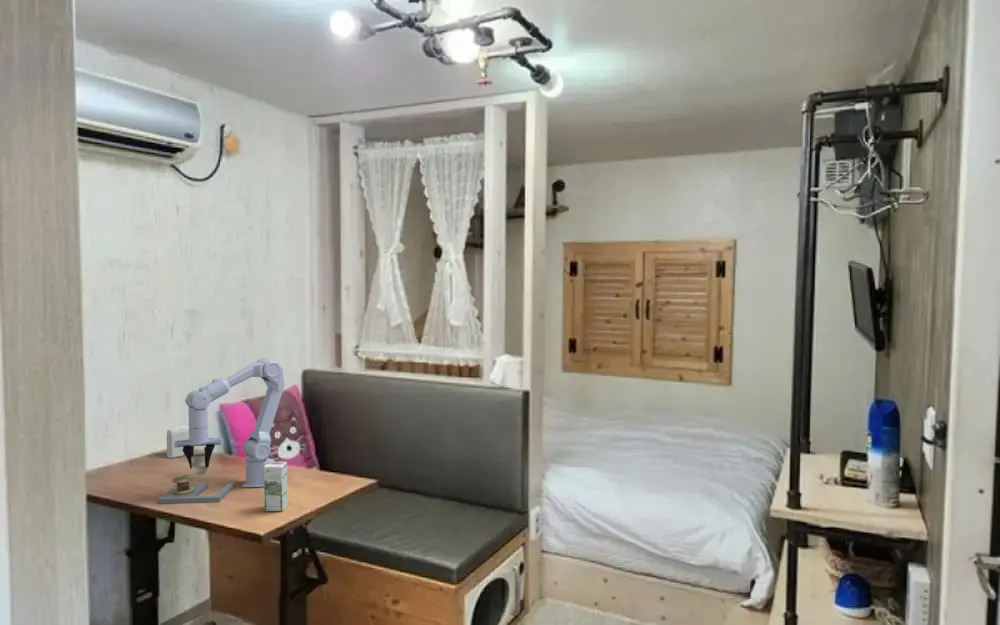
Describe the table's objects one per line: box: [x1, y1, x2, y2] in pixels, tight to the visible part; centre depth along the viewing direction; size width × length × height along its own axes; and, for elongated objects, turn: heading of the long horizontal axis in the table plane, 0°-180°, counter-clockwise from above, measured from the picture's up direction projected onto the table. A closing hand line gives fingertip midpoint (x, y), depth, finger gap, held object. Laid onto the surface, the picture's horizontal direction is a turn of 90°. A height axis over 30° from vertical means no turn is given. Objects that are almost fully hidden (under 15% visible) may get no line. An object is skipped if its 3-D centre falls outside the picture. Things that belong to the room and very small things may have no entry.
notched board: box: [157, 481, 236, 505], centre depth 217 cm, size 19×16×2 cm
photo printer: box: [166, 424, 189, 459], centre depth 266 cm, size 10×4×12 cm, turn 147°
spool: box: [171, 474, 194, 495], centre depth 216 cm, size 6×6×5 cm
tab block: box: [191, 452, 209, 476], centre depth 215 cm, size 4×4×6 cm
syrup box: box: [263, 461, 289, 513], centre depth 204 cm, size 6×6×14 cm
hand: (199, 467), depth 215 cm, fingers closed on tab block, 4 cm apart
